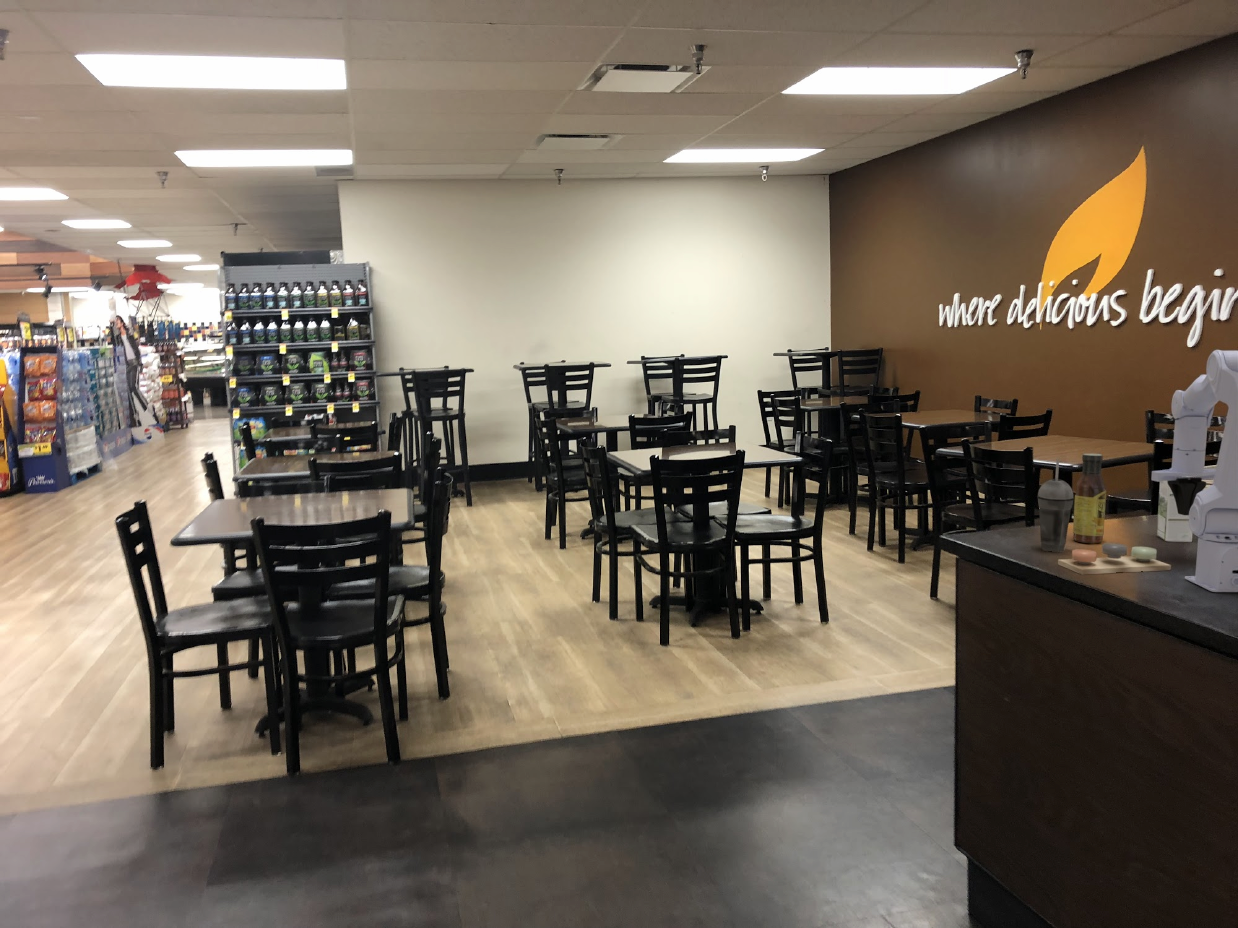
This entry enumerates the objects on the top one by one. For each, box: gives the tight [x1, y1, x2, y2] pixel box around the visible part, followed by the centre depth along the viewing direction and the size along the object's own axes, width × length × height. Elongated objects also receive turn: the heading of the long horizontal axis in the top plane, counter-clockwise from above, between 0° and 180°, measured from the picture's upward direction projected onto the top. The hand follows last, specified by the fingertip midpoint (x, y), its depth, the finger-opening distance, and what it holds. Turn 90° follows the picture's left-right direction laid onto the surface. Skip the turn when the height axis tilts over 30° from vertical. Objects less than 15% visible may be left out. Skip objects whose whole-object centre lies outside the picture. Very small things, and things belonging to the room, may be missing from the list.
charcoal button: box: [1101, 542, 1128, 559], centre depth 188 cm, size 4×4×2 cm
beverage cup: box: [1036, 458, 1075, 553], centre depth 202 cm, size 7×7×20 cm
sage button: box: [1130, 546, 1158, 562], centre depth 189 cm, size 4×4×2 cm
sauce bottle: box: [1072, 453, 1107, 544], centre depth 210 cm, size 7×6×20 cm
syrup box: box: [1156, 476, 1193, 543], centre depth 211 cm, size 6×6×14 cm
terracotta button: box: [1071, 548, 1098, 565], centre depth 187 cm, size 4×4×2 cm
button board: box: [1057, 555, 1172, 576], centre depth 189 cm, size 19×8×1 cm, turn 97°
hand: (1184, 514), depth 193 cm, fingers closed
